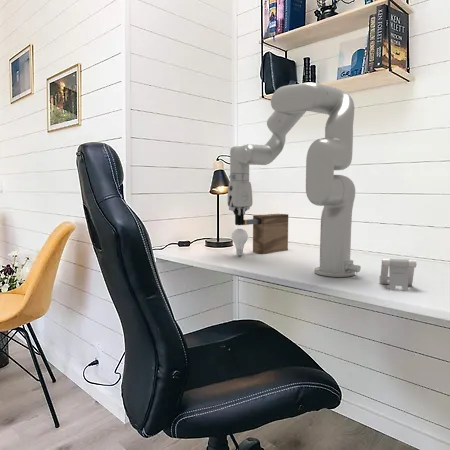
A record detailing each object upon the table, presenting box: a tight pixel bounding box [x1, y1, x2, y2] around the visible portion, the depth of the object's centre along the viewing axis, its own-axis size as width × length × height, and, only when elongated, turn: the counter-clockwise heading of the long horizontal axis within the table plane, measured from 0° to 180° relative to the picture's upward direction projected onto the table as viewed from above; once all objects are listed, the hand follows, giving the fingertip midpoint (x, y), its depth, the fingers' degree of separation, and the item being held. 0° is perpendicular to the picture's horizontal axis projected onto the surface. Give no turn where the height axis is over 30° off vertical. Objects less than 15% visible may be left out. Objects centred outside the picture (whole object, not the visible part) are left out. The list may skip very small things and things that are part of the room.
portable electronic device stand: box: [379, 257, 417, 292], centre depth 120 cm, size 9×8×8 cm
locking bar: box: [243, 218, 261, 226], centre depth 179 cm, size 3×25×2 cm, turn 134°
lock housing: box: [252, 213, 289, 255], centre depth 183 cm, size 6×16×16 cm, turn 134°
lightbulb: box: [231, 228, 249, 257], centre depth 170 cm, size 6×6×11 cm
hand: (239, 224), depth 170 cm, fingers closed
